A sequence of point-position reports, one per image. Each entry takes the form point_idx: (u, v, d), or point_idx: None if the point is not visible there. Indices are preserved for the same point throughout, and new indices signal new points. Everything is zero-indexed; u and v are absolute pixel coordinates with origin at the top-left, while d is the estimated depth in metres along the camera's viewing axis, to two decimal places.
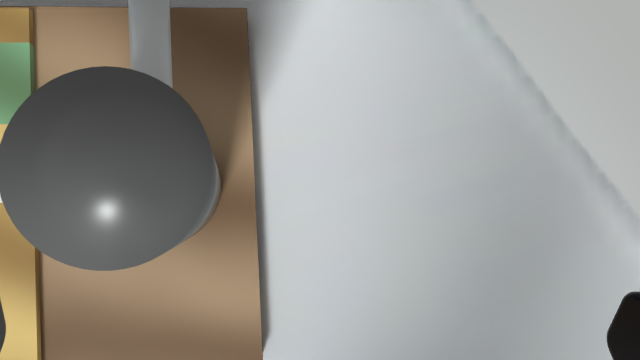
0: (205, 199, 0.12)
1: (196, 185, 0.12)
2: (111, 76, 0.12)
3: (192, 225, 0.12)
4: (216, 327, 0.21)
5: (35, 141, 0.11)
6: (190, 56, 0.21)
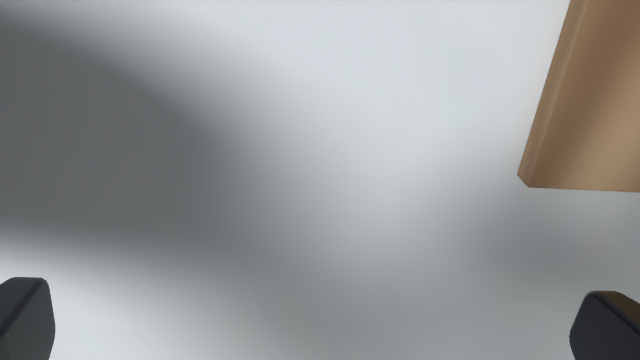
0: None
1: None
2: None
3: None
4: (580, 148, 0.20)
5: None
6: None
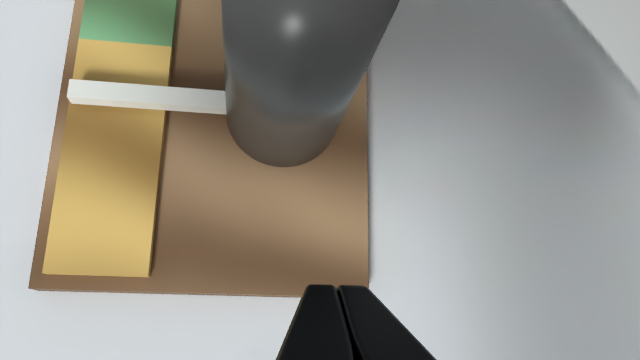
0: (396, 4, 0.13)
1: None
2: None
3: (383, 25, 0.13)
4: (324, 255, 0.21)
5: None
6: None
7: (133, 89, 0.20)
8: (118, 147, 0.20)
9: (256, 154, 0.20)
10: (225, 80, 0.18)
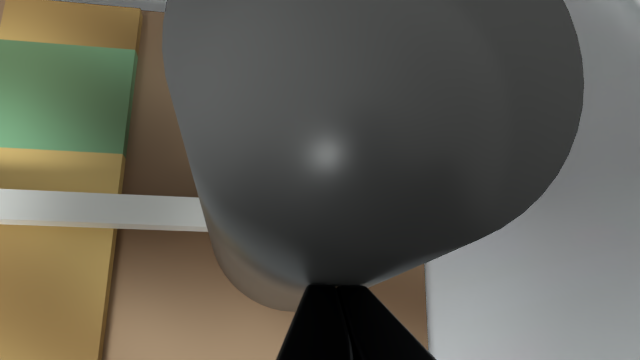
0: (578, 123, 0.06)
1: (557, 95, 0.06)
2: None
3: (551, 176, 0.05)
4: None
5: None
6: None
7: (59, 200, 0.12)
8: (31, 328, 0.12)
9: (256, 299, 0.13)
10: None
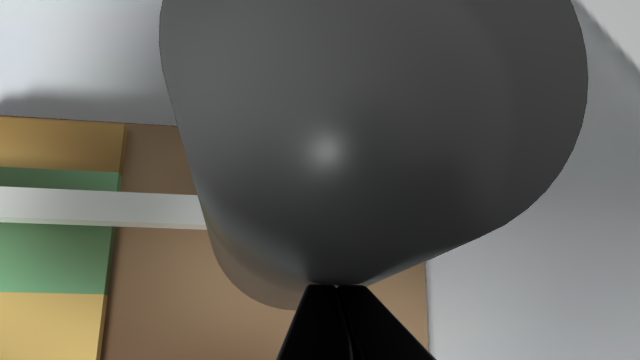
0: (582, 118, 0.05)
1: (561, 89, 0.06)
2: None
3: (555, 172, 0.05)
4: None
5: None
6: None
7: (57, 198, 0.12)
8: None
9: (255, 297, 0.13)
10: None
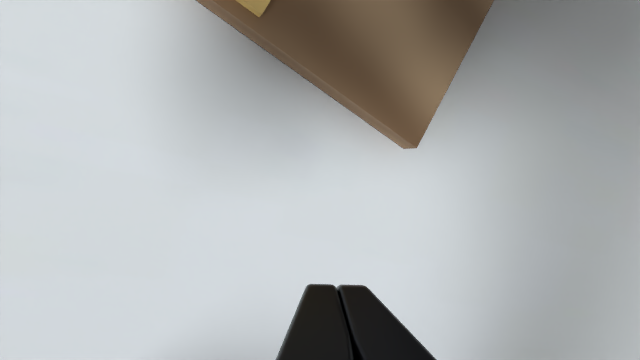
0: None
1: None
2: None
3: None
4: (402, 92, 0.22)
5: None
6: None
7: None
8: None
9: None
10: None
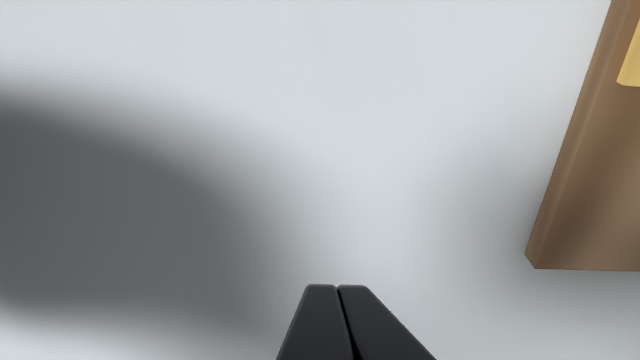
0: None
1: None
2: None
3: None
4: (583, 235, 0.22)
5: None
6: None
7: None
8: None
9: None
10: None
